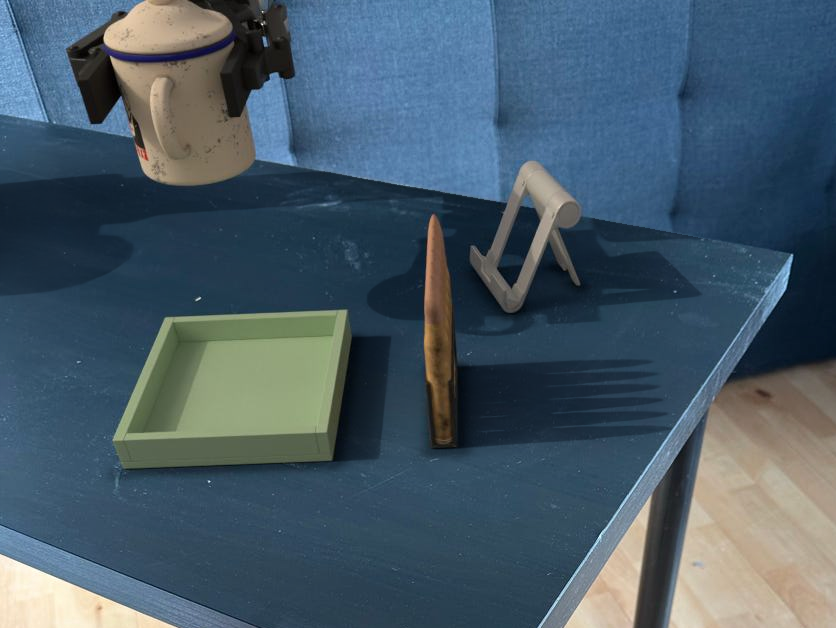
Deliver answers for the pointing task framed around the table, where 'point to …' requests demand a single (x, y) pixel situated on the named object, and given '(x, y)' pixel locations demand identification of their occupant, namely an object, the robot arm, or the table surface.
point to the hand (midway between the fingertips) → (159, 99)
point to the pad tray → (238, 391)
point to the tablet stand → (553, 213)
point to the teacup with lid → (179, 92)
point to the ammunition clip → (440, 345)
